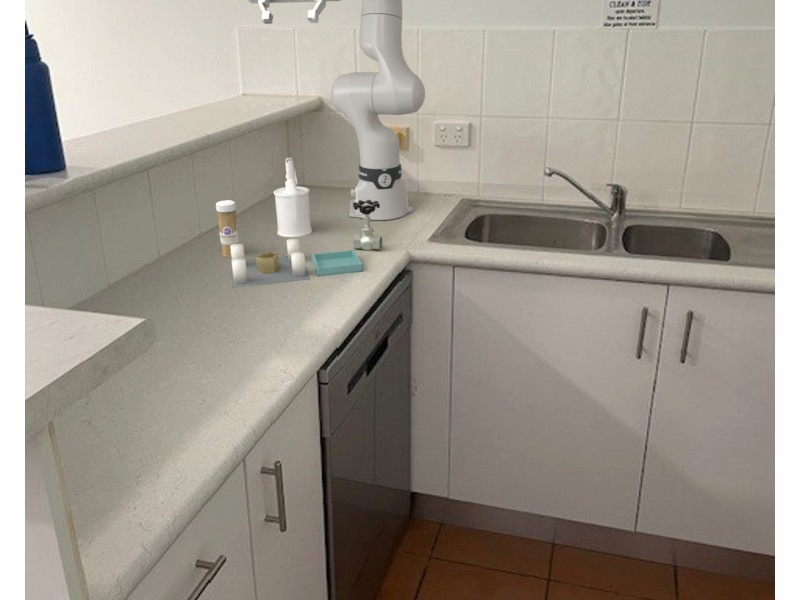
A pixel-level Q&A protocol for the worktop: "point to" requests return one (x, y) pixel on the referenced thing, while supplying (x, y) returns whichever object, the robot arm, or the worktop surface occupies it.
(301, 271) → the cylinder
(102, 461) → the worktop surface
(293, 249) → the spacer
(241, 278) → the spacer
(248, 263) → the mat
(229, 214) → the sprinkles bottle
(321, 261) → the tray
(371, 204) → the valve
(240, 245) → the spacer
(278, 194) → the white spouted canister
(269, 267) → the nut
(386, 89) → the robot arm
